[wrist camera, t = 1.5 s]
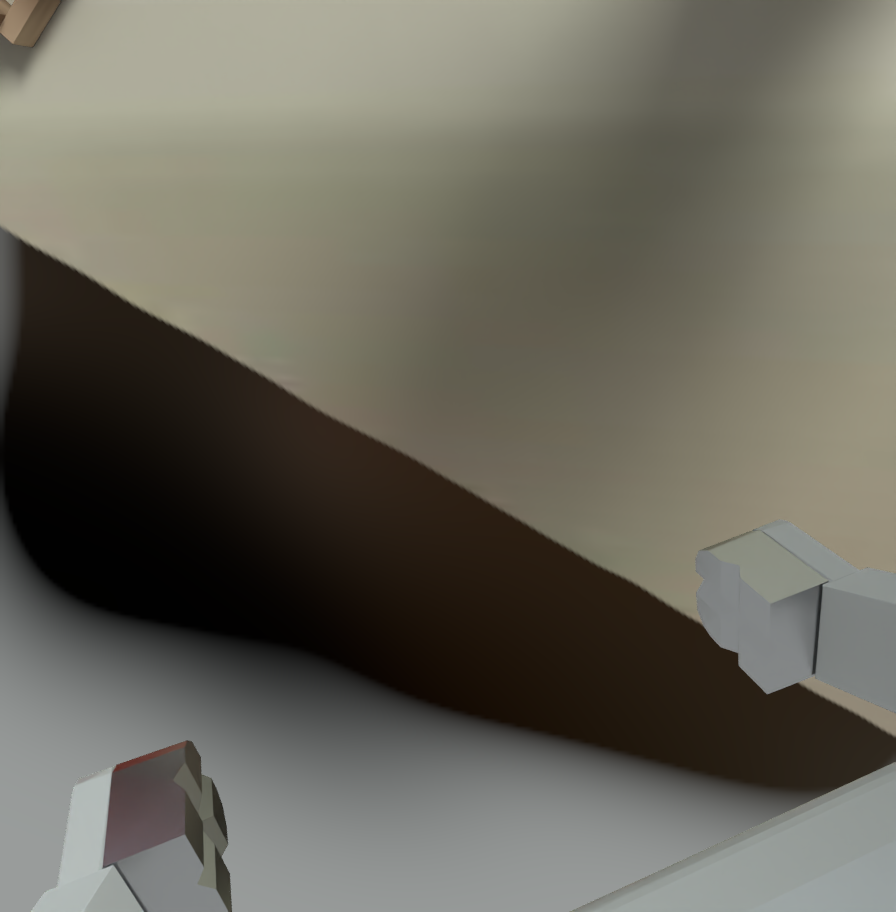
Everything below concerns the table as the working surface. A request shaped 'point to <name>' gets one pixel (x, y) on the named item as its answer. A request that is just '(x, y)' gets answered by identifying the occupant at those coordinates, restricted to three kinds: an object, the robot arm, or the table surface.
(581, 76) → the table surface
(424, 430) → the table surface
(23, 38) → the frame
